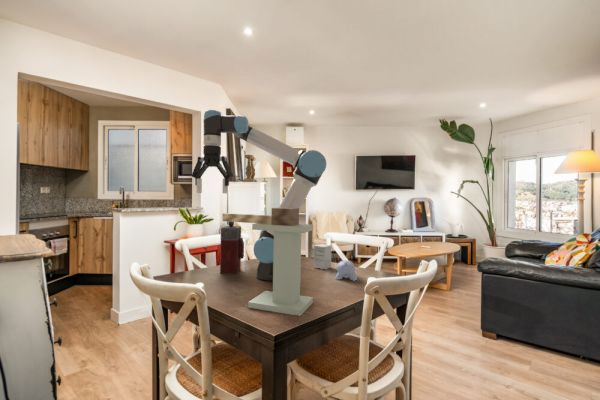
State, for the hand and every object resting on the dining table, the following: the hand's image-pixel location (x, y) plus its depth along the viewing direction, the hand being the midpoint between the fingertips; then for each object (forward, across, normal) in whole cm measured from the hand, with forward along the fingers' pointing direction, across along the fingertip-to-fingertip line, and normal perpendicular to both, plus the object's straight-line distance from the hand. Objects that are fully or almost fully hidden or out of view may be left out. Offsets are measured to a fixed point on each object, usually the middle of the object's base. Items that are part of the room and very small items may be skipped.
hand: (211, 193), depth 142 cm
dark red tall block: (+41, -2, +21) cm, 46 cm away
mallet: (+11, +30, -14) cm, 35 cm away
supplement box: (+41, +39, +48) cm, 75 cm away
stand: (+41, +40, -14) cm, 59 cm away
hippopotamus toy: (+41, +56, +34) cm, 77 cm away
